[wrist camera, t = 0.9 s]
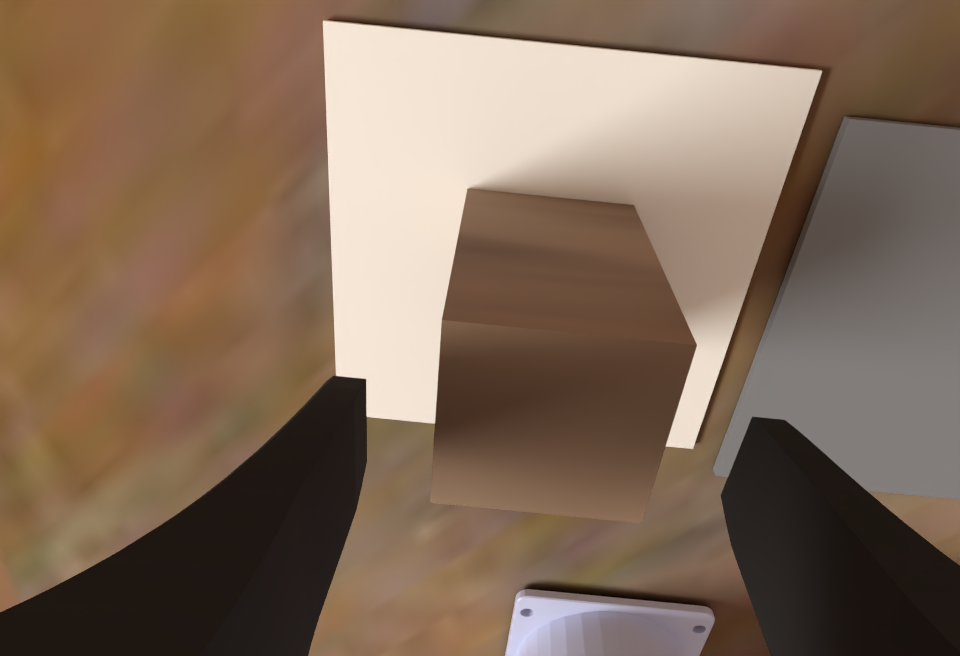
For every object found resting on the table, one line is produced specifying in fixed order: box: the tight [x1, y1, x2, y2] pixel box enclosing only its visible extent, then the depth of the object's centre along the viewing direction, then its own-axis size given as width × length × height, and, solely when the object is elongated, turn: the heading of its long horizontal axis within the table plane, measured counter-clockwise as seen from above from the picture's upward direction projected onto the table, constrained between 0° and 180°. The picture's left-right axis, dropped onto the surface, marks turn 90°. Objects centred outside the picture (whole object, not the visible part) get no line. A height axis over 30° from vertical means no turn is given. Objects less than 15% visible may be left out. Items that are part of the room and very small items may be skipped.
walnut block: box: [430, 188, 697, 523], centre depth 15 cm, size 4×4×7 cm
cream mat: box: [323, 20, 822, 449], centre depth 18 cm, size 12×12×1 cm
